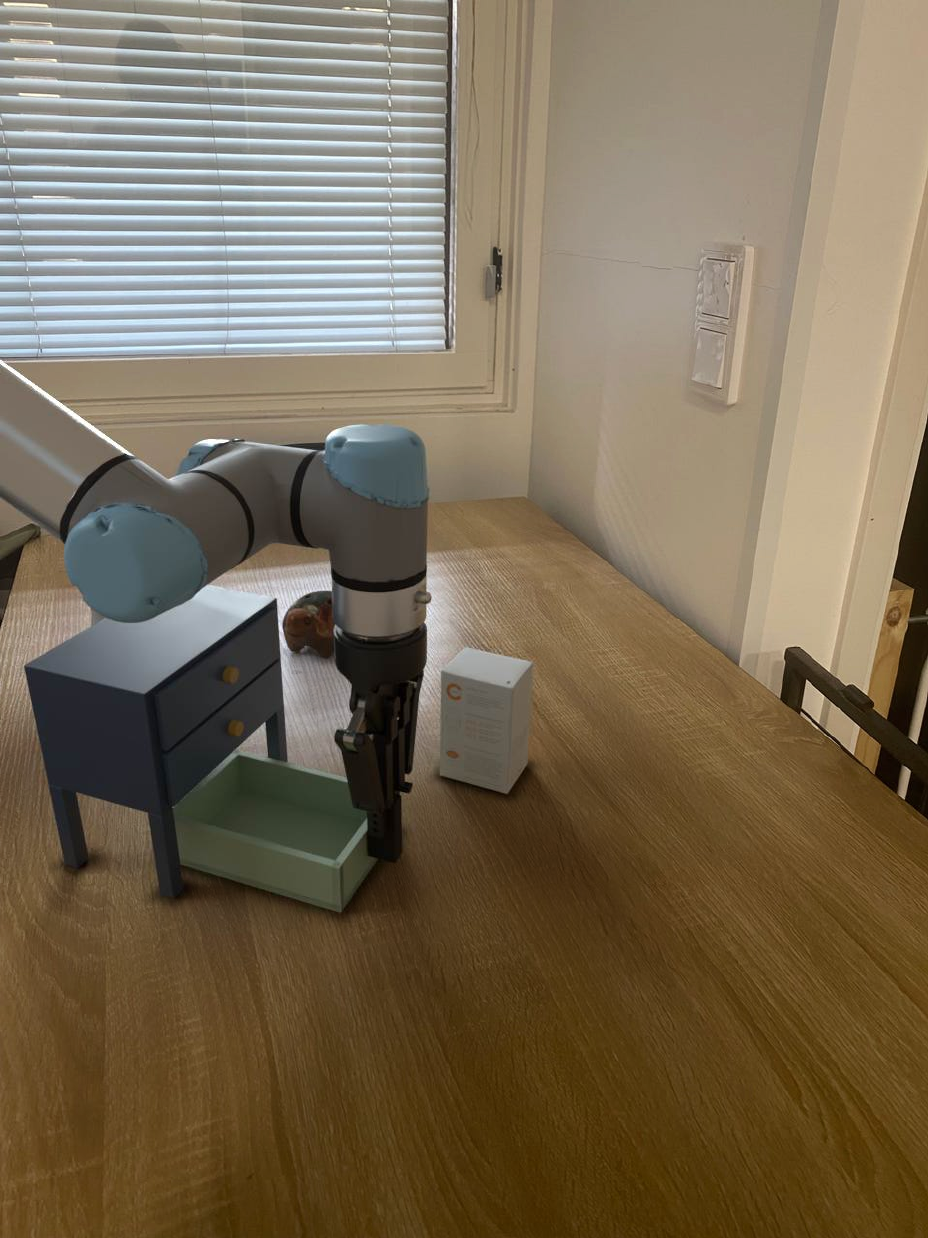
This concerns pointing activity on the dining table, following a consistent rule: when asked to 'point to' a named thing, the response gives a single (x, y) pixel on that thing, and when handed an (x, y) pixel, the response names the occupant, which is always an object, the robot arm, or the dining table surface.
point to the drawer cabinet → (156, 711)
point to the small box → (485, 719)
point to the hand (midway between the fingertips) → (385, 854)
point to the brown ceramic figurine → (310, 624)
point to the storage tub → (276, 830)
